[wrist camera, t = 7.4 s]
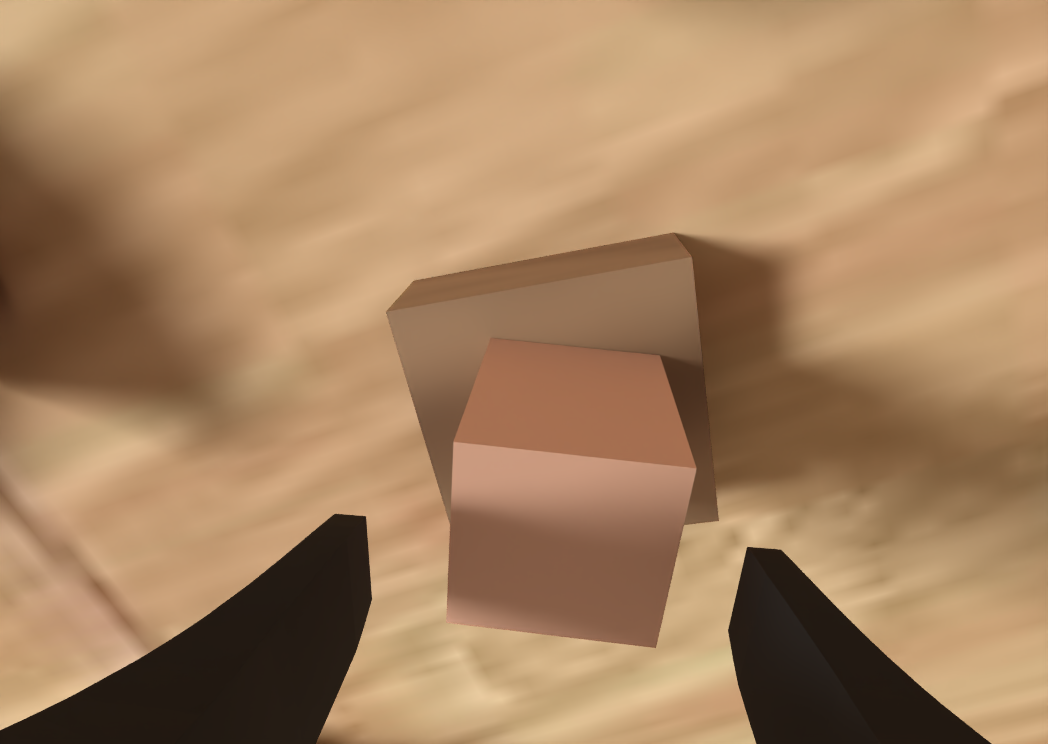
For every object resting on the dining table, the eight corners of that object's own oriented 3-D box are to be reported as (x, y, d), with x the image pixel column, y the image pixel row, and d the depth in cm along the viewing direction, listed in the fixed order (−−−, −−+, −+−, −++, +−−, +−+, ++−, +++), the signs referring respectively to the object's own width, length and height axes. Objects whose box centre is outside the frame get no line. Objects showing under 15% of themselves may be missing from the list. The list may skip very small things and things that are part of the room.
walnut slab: (697, 458, 22) (718, 520, 18) (474, 488, 23) (458, 551, 20) (671, 230, 19) (692, 256, 15) (416, 277, 20) (386, 312, 17)
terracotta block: (633, 496, 18) (655, 647, 13) (481, 479, 18) (446, 622, 13) (660, 355, 16) (696, 468, 11) (490, 337, 17) (453, 441, 12)
